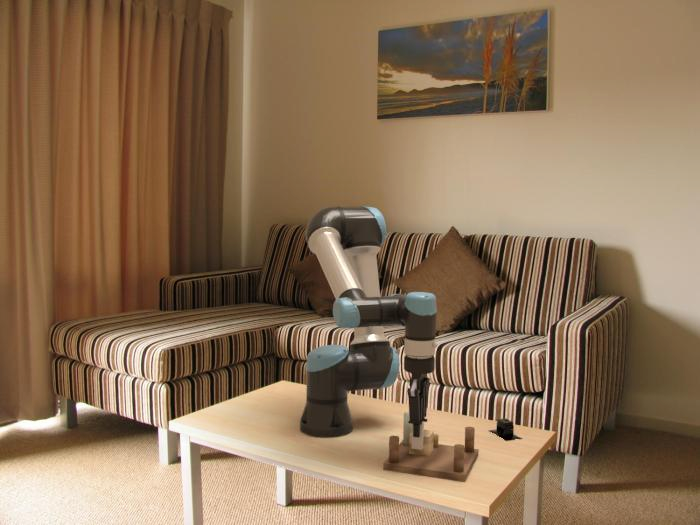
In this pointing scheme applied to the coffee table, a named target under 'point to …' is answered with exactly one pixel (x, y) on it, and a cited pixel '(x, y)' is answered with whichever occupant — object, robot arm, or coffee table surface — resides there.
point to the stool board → (434, 458)
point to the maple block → (426, 444)
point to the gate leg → (406, 429)
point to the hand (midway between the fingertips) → (417, 448)
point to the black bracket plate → (505, 430)
